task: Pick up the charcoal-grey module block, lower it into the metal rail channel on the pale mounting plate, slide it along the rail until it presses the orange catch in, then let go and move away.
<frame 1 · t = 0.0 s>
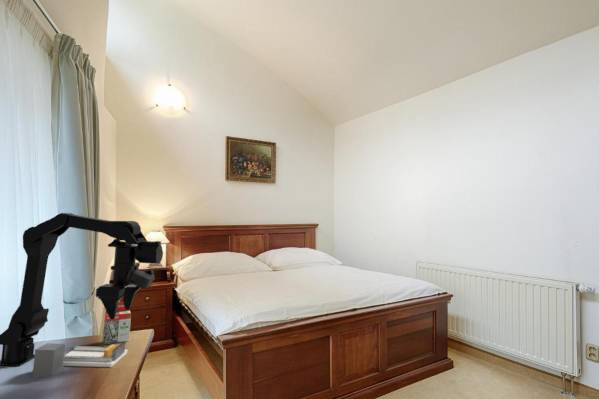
hand: (120, 314, 97), 15 cm above the table, tool pointing down, fingers open, 9 cm apart
module: (48, 372, 89), on the table
ink box: (115, 341, 112), on the table
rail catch: (109, 351, 99), point 2 cm above the table, slide at 0.0 cm
rail plate: (92, 358, 99), on the table
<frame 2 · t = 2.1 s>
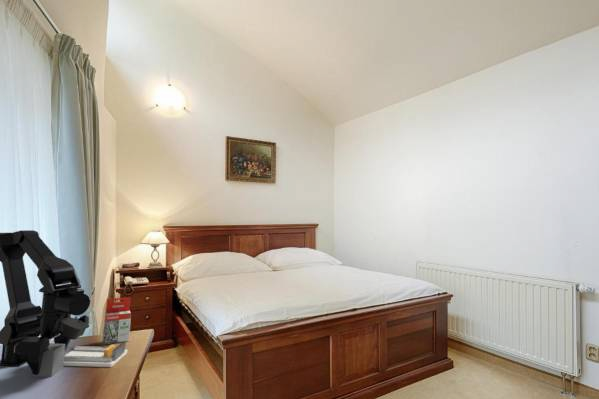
hand: (48, 366, 89), 2 cm above the table, tool pointing down, fingers open, 9 cm apart
nothing on the table moved.
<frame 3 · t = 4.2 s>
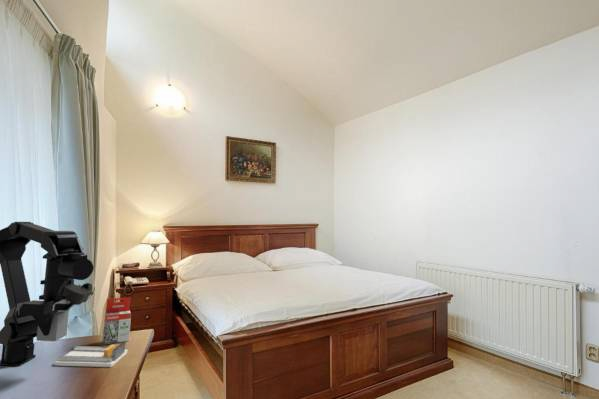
hand: (52, 332, 90), 11 cm above the table, tool pointing down, fingers closed on module, 4 cm apart
module: (51, 337, 90), point 9 cm above the table, touching gripper
everything else where it was.
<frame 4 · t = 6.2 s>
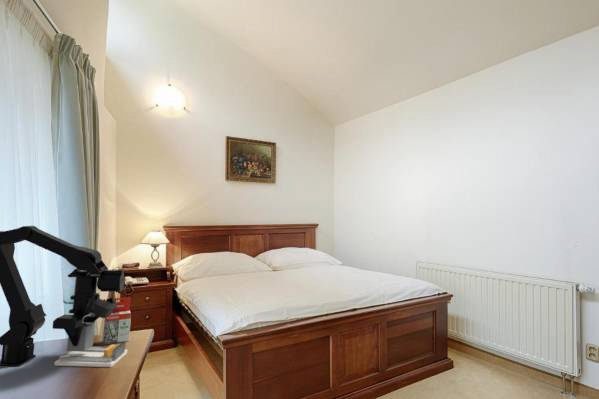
hand: (80, 342, 99), 5 cm above the table, tool pointing down, fingers closed on module, 4 cm apart
module: (80, 347, 98), point 3 cm above the table, touching gripper
everything else where it was.
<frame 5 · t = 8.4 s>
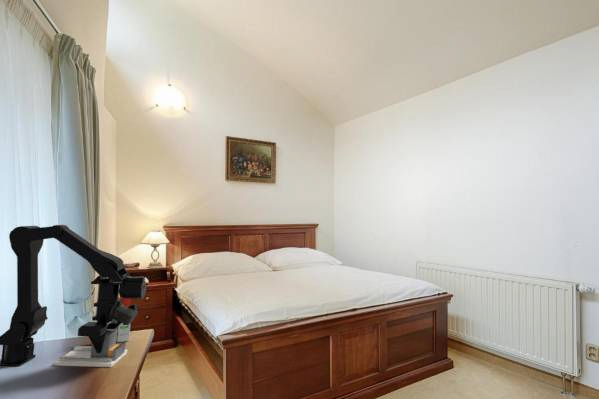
hand: (103, 349, 99), 3 cm above the table, tool pointing down, fingers closed on module, 4 cm apart
module: (103, 354, 99), point 1 cm above the table, touching gripper, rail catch
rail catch: (113, 351, 99), point 2 cm above the table, slide at 1.2 cm, touching module
everything else where it was.
when the fingers open (3 cm above the table, at t = 9.6 s): module stays where it is, resting on rail plate.
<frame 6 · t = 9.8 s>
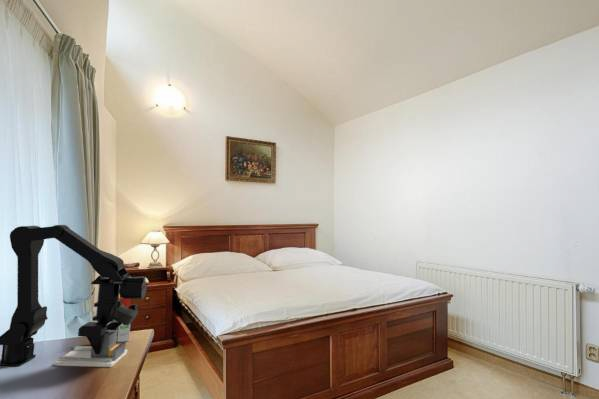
hand: (103, 349, 99), 3 cm above the table, tool pointing down, fingers open, 6 cm apart
module: (103, 355, 99), point 1 cm above the table, touching rail plate
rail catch: (114, 351, 99), point 2 cm above the table, slide at 1.3 cm
everything else where it was.
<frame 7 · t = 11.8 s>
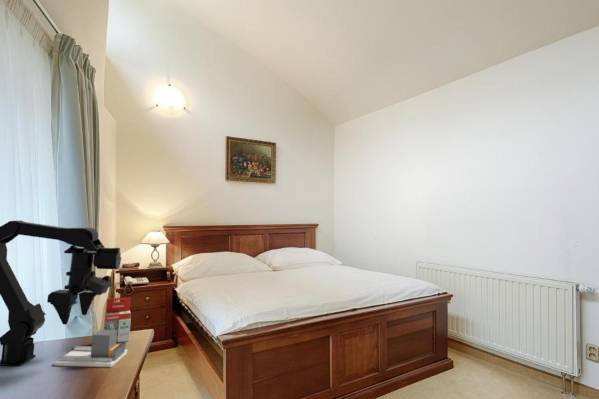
hand: (75, 319, 99), 12 cm above the table, tool pointing down, fingers open, 9 cm apart
nothing on the table moved.
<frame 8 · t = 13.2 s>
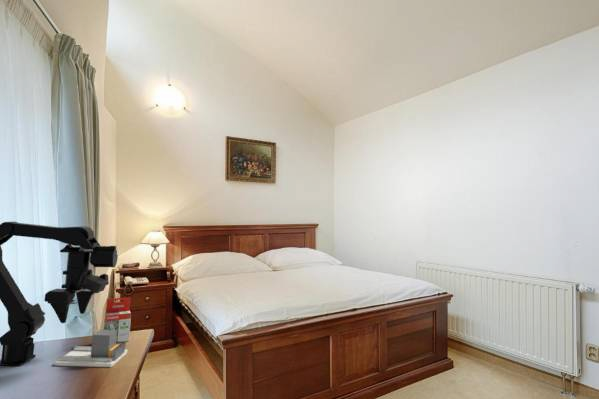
hand: (73, 318, 99), 12 cm above the table, tool pointing down, fingers open, 9 cm apart
nothing on the table moved.
at the end: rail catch slide at 1.3 cm; module 0.2 cm from the target spot on the rail plate, point 1.0 cm above the rail plate's base; module tilted 0° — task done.
